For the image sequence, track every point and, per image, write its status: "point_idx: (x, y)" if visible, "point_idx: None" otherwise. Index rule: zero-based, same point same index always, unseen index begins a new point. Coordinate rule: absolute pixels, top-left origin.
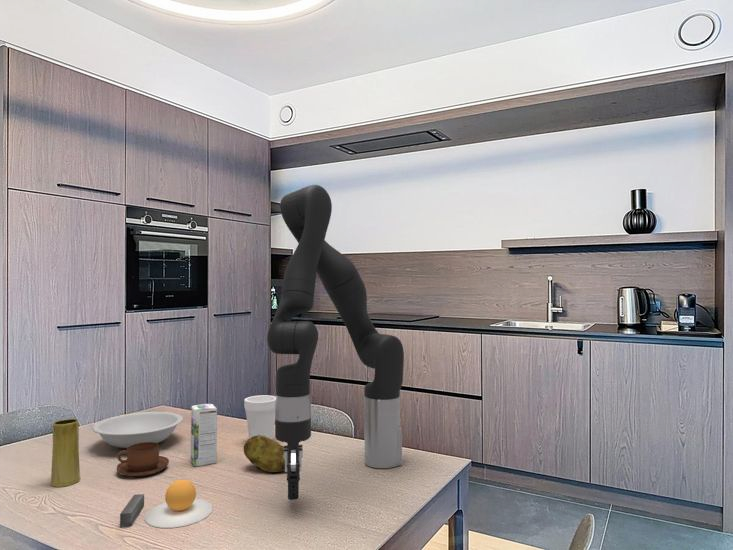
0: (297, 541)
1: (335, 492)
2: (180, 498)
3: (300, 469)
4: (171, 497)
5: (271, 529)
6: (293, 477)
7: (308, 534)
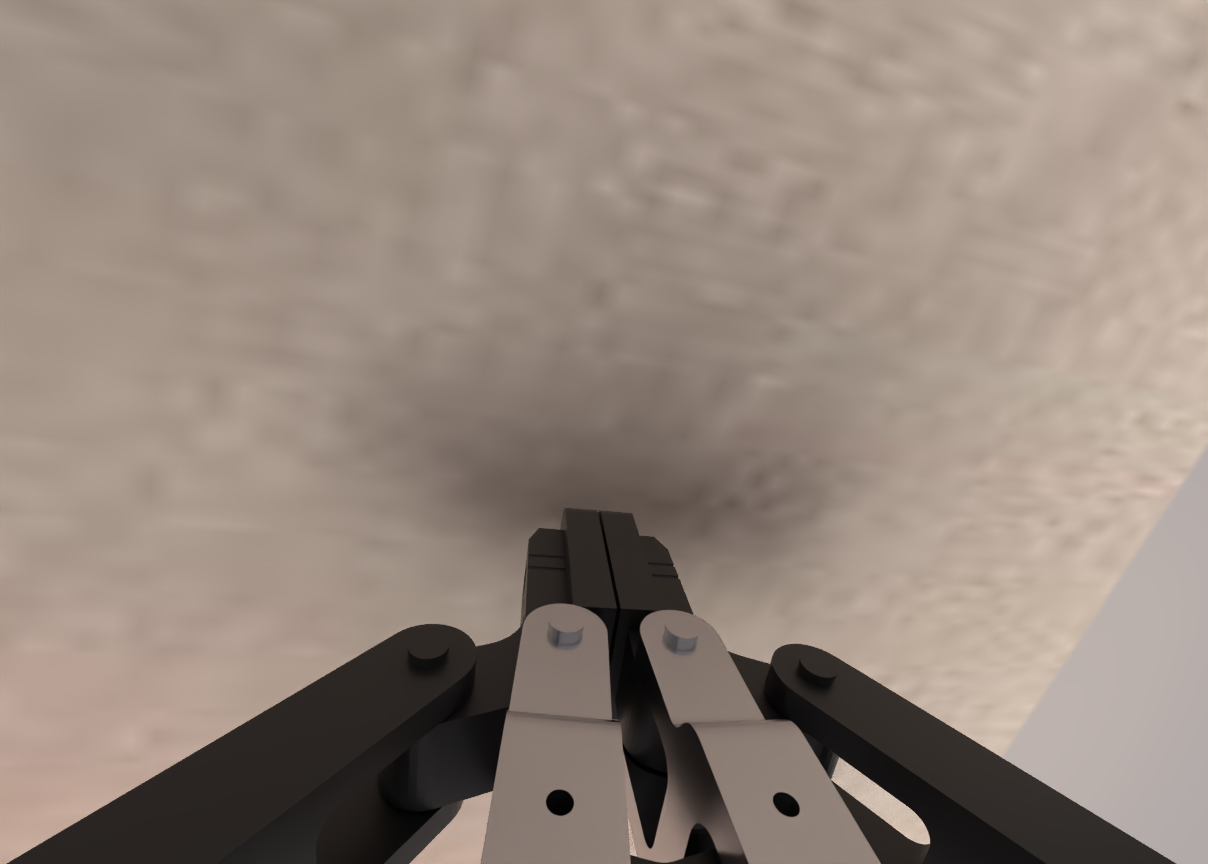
0: (1123, 537)
1: (366, 34)
2: None
3: (790, 742)
4: None
5: (899, 668)
6: (835, 764)
7: (1082, 462)
